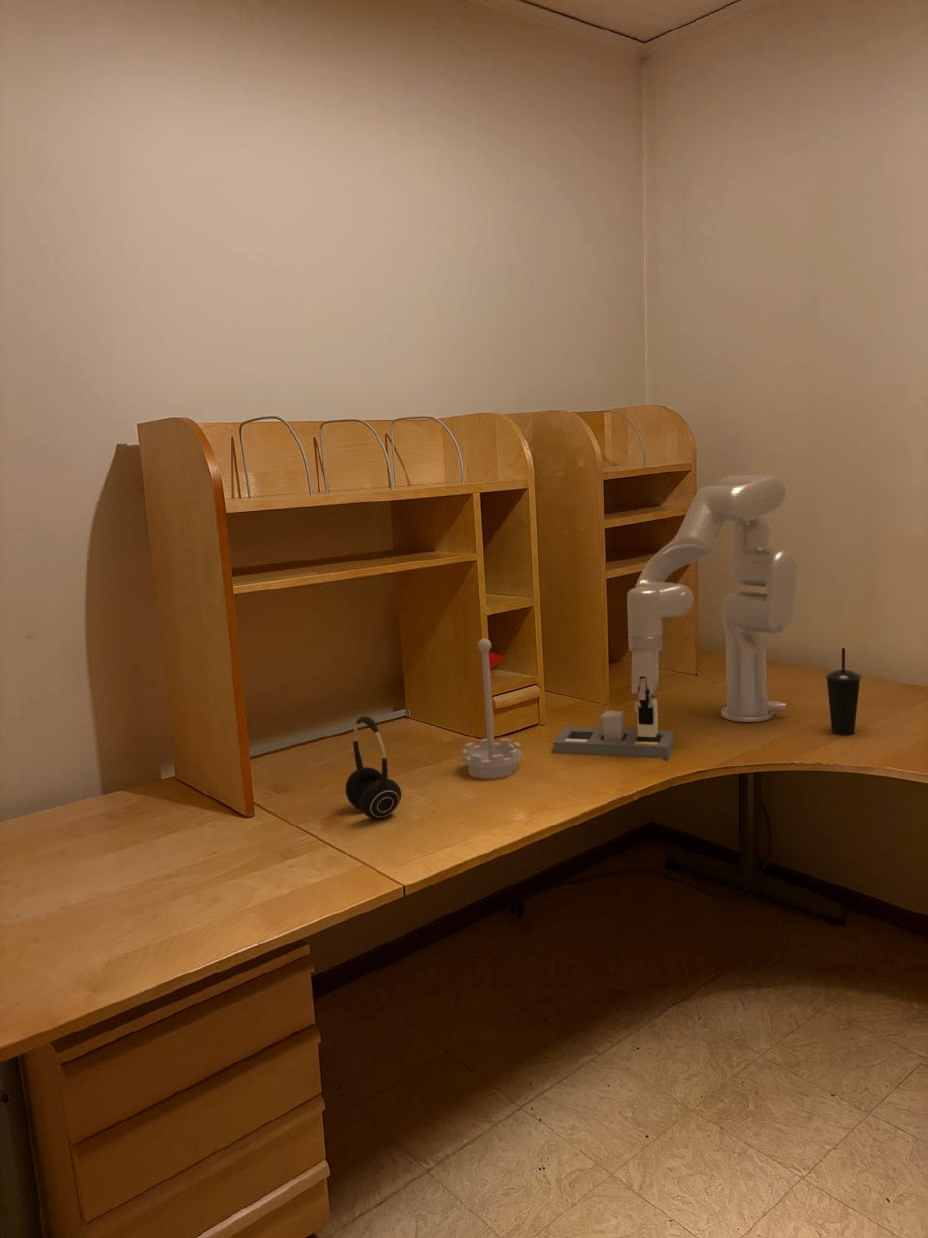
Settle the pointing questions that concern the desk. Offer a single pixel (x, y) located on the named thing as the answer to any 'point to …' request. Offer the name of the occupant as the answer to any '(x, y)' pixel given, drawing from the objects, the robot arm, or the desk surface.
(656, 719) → the ivory plug
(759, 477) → the robot arm
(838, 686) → the drinking cup
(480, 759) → the flag stand
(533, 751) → the desk surface
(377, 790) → the headphones
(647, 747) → the grey slotted tray
